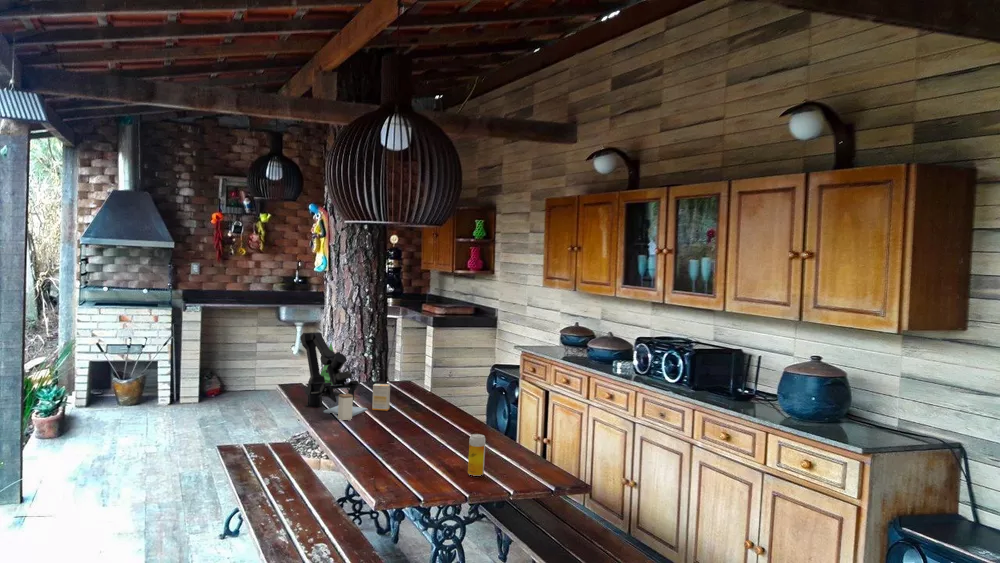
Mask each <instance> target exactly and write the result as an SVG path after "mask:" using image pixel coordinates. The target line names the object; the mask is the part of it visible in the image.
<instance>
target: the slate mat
mask: <svg viewBox="0 0 1000 563" xmlns="http://www.w3.org/2000/svg"><path fill="white" fill-rule="evenodd" d="M368 409H369V408H367V407H358V406H353V408H352V417H355V416H356V415H360V414H362V413H364V412H367V411H368ZM366 410H367V411H366ZM323 413H324V414H330V413H334V414H333V415H337V414H338V405H336V406H332V407H331V408H328V409H325V410H323Z"/></svg>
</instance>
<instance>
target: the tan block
mask: <svg viewBox="0 0 1000 563" xmlns="http://www.w3.org/2000/svg"><path fill="white" fill-rule="evenodd" d="M337 403H338V404H337V406H338V415H337V420H339V419H341V420H348V421H352V420H353V416H352V408H353V407H354V405H353V403H354V400H353V395H351V394H348V393H342V394H341V393H339V394H338V402H337ZM351 419H352V420H351ZM341 420H340V421H341Z"/></svg>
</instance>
